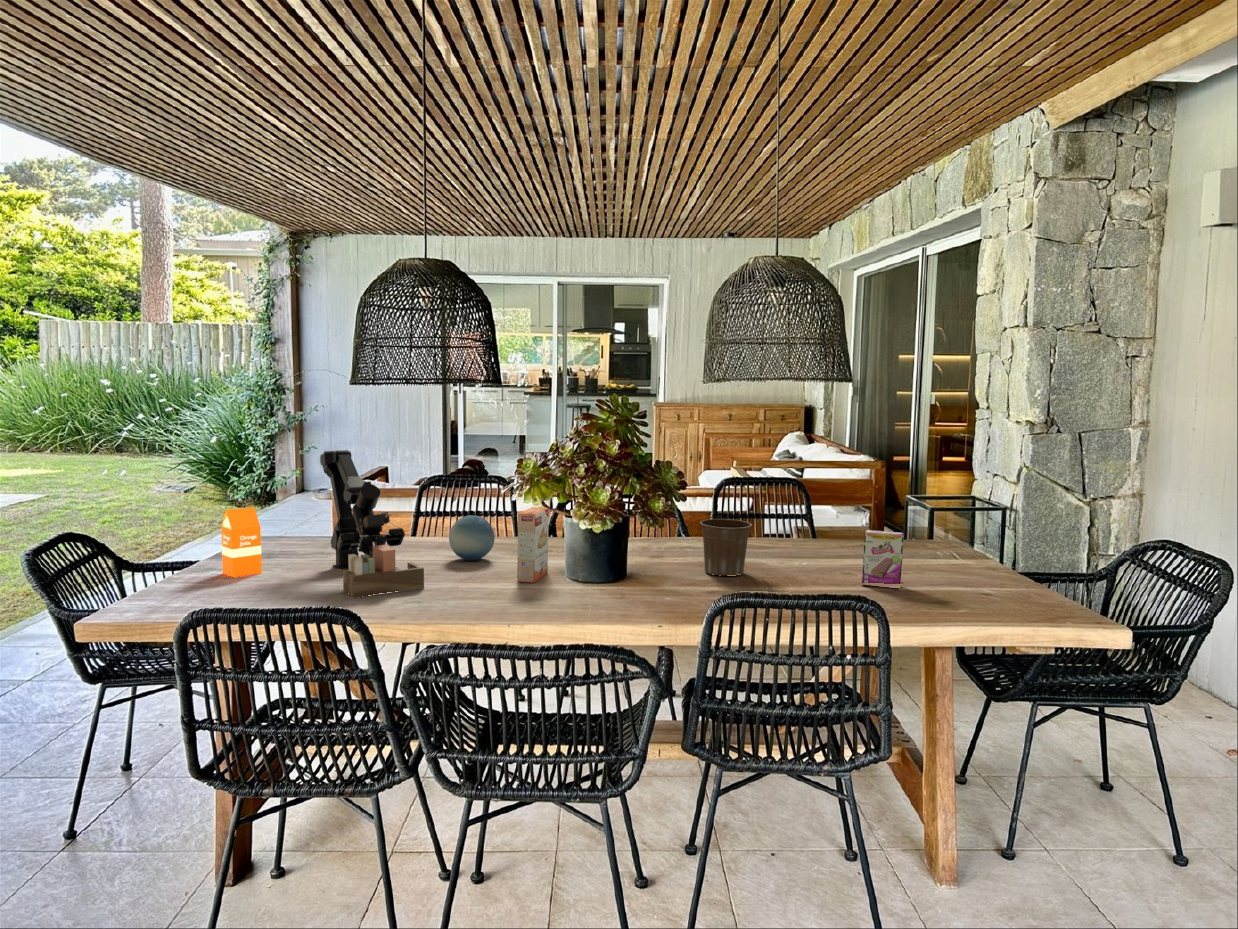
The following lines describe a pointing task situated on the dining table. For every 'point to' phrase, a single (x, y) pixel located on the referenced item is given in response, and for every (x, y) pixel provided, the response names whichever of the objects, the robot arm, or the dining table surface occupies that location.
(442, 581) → the dining table surface
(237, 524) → the orange juice
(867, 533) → the candy bar box
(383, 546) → the book
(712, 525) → the plant pot
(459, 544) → the decorative ball
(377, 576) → the book rack
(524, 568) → the cracker box
